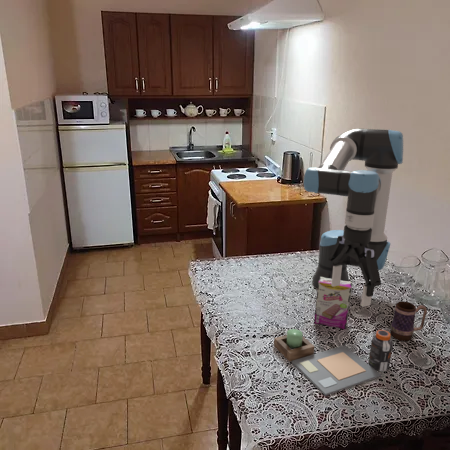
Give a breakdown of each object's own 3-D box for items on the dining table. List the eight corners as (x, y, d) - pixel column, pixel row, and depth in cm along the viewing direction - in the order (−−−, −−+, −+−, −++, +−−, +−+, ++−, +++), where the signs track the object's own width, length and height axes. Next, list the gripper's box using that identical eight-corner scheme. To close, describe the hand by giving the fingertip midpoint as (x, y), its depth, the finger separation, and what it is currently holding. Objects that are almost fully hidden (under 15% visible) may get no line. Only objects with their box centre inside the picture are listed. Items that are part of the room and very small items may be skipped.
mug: (391, 340, 141) (396, 308, 138) (388, 329, 148) (393, 298, 144) (424, 344, 139) (430, 312, 136) (419, 333, 146) (425, 301, 142)
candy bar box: (313, 324, 150) (317, 281, 145) (315, 317, 155) (319, 276, 150) (346, 330, 147) (351, 287, 142) (347, 323, 151) (352, 281, 146)
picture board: (343, 346, 138) (344, 344, 137) (380, 376, 124) (381, 373, 124) (291, 362, 129) (292, 360, 129) (325, 395, 116) (325, 393, 115)
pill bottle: (390, 373, 125) (396, 339, 122) (369, 370, 126) (374, 337, 123) (387, 361, 131) (392, 328, 127) (367, 358, 132) (371, 326, 128)
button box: (297, 339, 141) (297, 331, 140) (313, 354, 133) (314, 346, 132) (273, 346, 137) (274, 338, 136) (289, 361, 130) (290, 353, 129)
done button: (296, 338, 138) (296, 327, 136) (304, 346, 134) (305, 335, 132) (283, 342, 136) (284, 331, 134) (291, 350, 132) (292, 339, 130)
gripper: (320, 215, 129) (314, 279, 136) (379, 242, 107) (369, 317, 114) (340, 213, 132) (334, 276, 139) (402, 238, 110) (390, 312, 117)
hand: (349, 294), depth 126 cm, fingers open, 13 cm apart
